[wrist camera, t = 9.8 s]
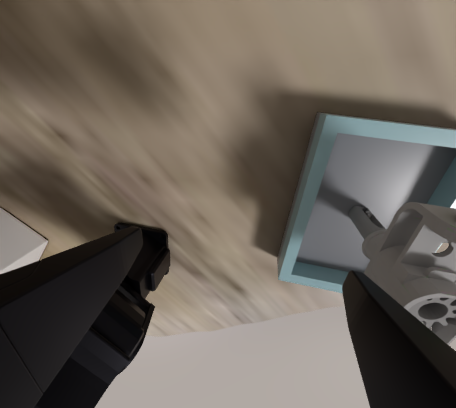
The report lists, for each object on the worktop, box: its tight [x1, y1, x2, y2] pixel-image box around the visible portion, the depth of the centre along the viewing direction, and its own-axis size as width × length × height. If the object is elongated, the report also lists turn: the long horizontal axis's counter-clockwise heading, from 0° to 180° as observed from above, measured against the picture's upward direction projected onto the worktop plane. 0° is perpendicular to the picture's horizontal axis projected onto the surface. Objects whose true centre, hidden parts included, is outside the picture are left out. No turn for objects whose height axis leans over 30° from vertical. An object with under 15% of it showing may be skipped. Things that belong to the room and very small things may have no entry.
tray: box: [277, 112, 456, 293], centre depth 18 cm, size 11×15×3 cm
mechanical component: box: [349, 202, 456, 345], centre depth 14 cm, size 3×10×10 cm, turn 174°
